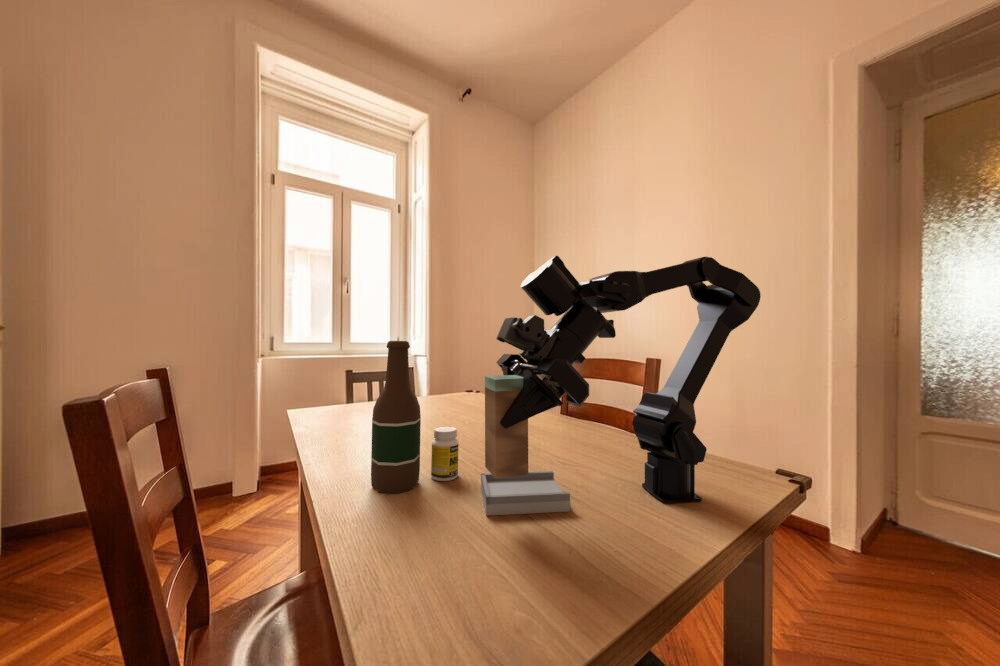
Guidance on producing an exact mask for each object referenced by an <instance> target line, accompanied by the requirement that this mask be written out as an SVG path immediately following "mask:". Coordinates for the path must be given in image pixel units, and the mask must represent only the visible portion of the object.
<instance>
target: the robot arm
mask: <svg viewBox="0 0 1000 666" xmlns="http://www.w3.org/2000/svg"><path fill="white" fill-rule="evenodd" d="M705 282H709V283H710V284H708V285H707V284H706V283H705ZM684 286H686V287H688V290H689V294H690V297H691V298H692V299H693V300H694V301H695V302H697V306H696V309H697V314H698V319H699V320H698V323H697V324H696V325H695V328H694V330H693V332H692V334H691V336H690V337H689V340H688V341H687V343H686V344H685V345H686V346H685V347H684V348H683V351H682V352H681V354H680V356H679V358H678V360H677V362H676V363H675V366H674V367H673V368H672V371H671V372H670V375H669V377H668V378H667V380H666V381H665V384H664V386H663V388H662V389H660V390H659V391H658V392H655V393H654V392H648V391H645V392H644V394H643V395H642V396H641V399H640V402H639V404H638V405H637V407H635V409H634V410H633V411H632V412H633V414H634V416H633V418H632V421H631V422H632V423H631V425H632V427H633V433H634V434H635V436H636V438H637V441H638V444H639V448H640V449H641V450H644V451H647V453H646V455H647V457H646V459H647V460H646V462H644V482H643V483H642V484H641V487H642V488H644V490H646V491H647V492H648V493H649V494H651V495H652V496H654V497H655V498H656V499H657V500H659V501H660V502H662V503H663V504H664V503H665V504H667V503H688V502H702V501H703V500H702V498H703V497H701V496H700V495H698V494H697V493H695V487H696V486H695V485H696V483H695V479H696V478H695V477H696V475H695V472H696V471H695V466H697V465H699V463H703V462H705V457H706V453H707V446H705V445H704V443H703V442H702V441H701V439H700V438H699V437H698V436H697V435H696V434H695V432H694V430H695V427H696V425H697V417H696V412H695V411H696V410H695V403H696V400H697V399H698V397H699V394H700V392H701V390H702V388H703V386H704V385H705V382H706V380H707V379H708V377H709V375H710V373H711V371H712V368H713V367H714V365H715V363H716V361H717V359H718V357H719V355H720V353H721V351H722V349H723V347H724V346H725V343H726V341H727V339H728V337H729V336H730V334H731V333H732V331H733V330H735V329H737V328H738V327H740V326H741V325H742V324H744V323H746V322H747V321H749V319H750V318H751V316H752V315H753V314H754V312H755V311H756V310H757V308H758V307H759V304H760V301H761V296H762V295H761V291H760V288H759V287H758V286H757V285H756V284H755V283H754V282H753V281H751V279H749V277H748V276H746V275H745V274H744V273H742V272H740V271H739V270H738V271H737V270H736V269H733V268H730V267H728V266H725V265H722V263H721V264H720V263H719V262H718V261H717V260H716V259H715V258H713V257H712V256H702V257H697V258H693V259H690V260H685V261H684V262H682V263H678V264H675V265H671V266H667V267H661V268H658V269H654V270H650V271H637V270H618V271H612V272H610V273H605V274H602V275H598V276H595V277H592V278H589V279H588V280H584V281H582V282H581V281H580V282H579V281H578V280H577V278H575V276H574V275H573V274H572V272H570V270H569V269H568V268H567V267H566V265H565V263H564V261H563V260H562V259H561V258H560V256H559V255H555V256H551V257H550V258H549V259H548V260H547V261H546V262H544V264H542V265H541V266H539V267H538V268H537V269H536V270H534V271H533V272H531V273H529V275H527V276H526V278H525V279H523V281H522V282H521V284H520V286H519V287H520V288H521V289H522V291H524V293H525V294H526V295H527V296H528V297H529V298H530V299H531V301H532V302H533V303H534V304H535V305H536V307H538V308H539V310H541V312H542V313H543V314H544V315H545V316H551V315H553V314H554V316H555V317H559V316H561V317H560V318H559V319H558V320H557V321H556V323H555V324H553V326H552V327H551V328H550V329H545V319H544V318H542V317H540V316H538V315H536V314H533V315H529V316H527V317H526V318H525V319H524V320H523V318H521V317H514V316H513V317H506V318H504V320H503V323H502V325H501V327H500V329H499V332H498V334H497V336H496V338H495V339H496V340H497V341H498V342H501V343H502V344H503V343H506V344H508V345H510V346H513V347H514V348H517V349H519V350H521V351H520V352H519V353H518V354H517V353H503V354H502V355H501V357H500V358H499V359H497V361H496V364H497V365H498V367H500V369H501V372H502V375H517V376H521V377H523V388H522V390H521V391H520V393H519V394H518V395H517V397H516V398H515V400H514V401H513V403H512V404H511V406H510V407H509V409H508V410H507V412H506V413H505V415H504V417H503V418H502V420H501V421H500V424H501V425H502V426H503V427H504V428H509V427H511V426H513V425H515V424H517V423H519V422H522V421H524V420H526V419H528V420H529V419H530V418H532V417H534V416H536V415H539V414H542V413H544V412H546V411H549V410H551V409H554V408H556V407H562V406H563V405H564V402H563V401H562V400H561V398H563V395H565V394H566V395H565V396H566V397H565V401H566V402H567V403H568V404H570V405H573V406H576V407H579V408H581V407H582V405H583V404H584V403H585V401H586V400H587V399H588V398H589V397H590V384H589V382H588V381H587V380H586V379H585V378H584V377H583V376H582V374H580V372H578V370H576V367H574V366H573V365H574V364H582V363H584V361H585V360H586V357H585V356H584V355H583V354H584V352H585V351H586V350H587V349H588V347H589V346H590V345H591V344H592V343H593V342H594V340H596V338H597V337H598V338H600V339H614V338H616V336H617V334H616V329H615V325H614V324H615V323H614V322H615V321H614V319H608V318H606V317H605V315H603V314H605V313H613V312H614V313H615V312H621V311H626V310H629V309H630V308H632V307H635V306H636V305H638V304H639V303H642V302H643V301H644V300H645V299H646V298H647V297H649V296H652V295H655V294H659V293H662V292H666V291H669V290H673V289H677V288H681V287H684Z"/></svg>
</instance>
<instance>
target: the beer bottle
mask: <svg viewBox="0 0 1000 666" xmlns="http://www.w3.org/2000/svg"><path fill="white" fill-rule="evenodd" d="M386 348H387V349H388V350H387V361H386V362H387V363H386V374H385V382H384V388H383V390H382V391H381V392H380V394H379V396H378V397H377V399H376V401H375V404H374V406H373V410H372V418H371V419H372V420H371V455H370V457H371V461H370V464H371V465H370V466H371V467H370V477H371V478H370V482H371V484H370V485H371V487H372V489H374V490H375V491H376V492H377V493H378V494H386V495H387V494H389V495H393V494H394V495H398V494H401V493H405V492H408V491H411V490H412V491H413V490H414V488H415V487H416V485H417V484H418V482H419V480H420V471H421V467H420V466H421V425H422V424H421V420H422V419H421V406H420V402H419V400H418V397H417V396H416V394H415V393H414V391H413V390H412V387H411V382H410V365H409V363H410V361H409V348H411V345H410V343H409V341H407V340H389V341H387V345H386Z"/></svg>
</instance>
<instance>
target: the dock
mask: <svg viewBox="0 0 1000 666" xmlns="http://www.w3.org/2000/svg"><path fill="white" fill-rule="evenodd" d="M554 473H555V472H554V470H547V471H546V470H544V471H543V470H542V471H528V474H526V475H519V476H512V477H505V478H498V479H495V477H494V476H493V475H492V474H491V473H490V472H485V473H483V472H482V473H481V474H480V489H481V490H480V492H481V495H482V497H481V498H482V501H483V506H484V513H485V516H504V515H507V516H508V515H524V514H525V515H526V514H543V513H546V514H547V513H563V512H564V513H565V512H570V511H571V493H570V491H564V490H563V489H562V488H561V486H560V485H559V483H558V482H557V481H556V480H555V477H554V476H555V475H554Z"/></svg>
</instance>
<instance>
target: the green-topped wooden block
mask: <svg viewBox="0 0 1000 666" xmlns="http://www.w3.org/2000/svg"><path fill="white" fill-rule="evenodd" d="M522 388H523V377H521V376H517V375H503V374H502V375H484V467H485V469H487V471H488V473H491V474H492V475H493V476H494V477H495V479H498V478H505V477H512V476H519V475H526V474H528V472H529V418H528V419H526V420H524V421H522V422H519V423H517V424H515V425H513V426H511V427H509V428H504V427H503V426H502V425H501V424H500V421H501V420H502V418H503V417H504V415H505V413H506V412H507V410H508V409H509V407H510V406H511V404H512V403H513V401H514V400H515V398H516V397H517V395H518V394H519V393H520V391H521V390H522Z"/></svg>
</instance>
